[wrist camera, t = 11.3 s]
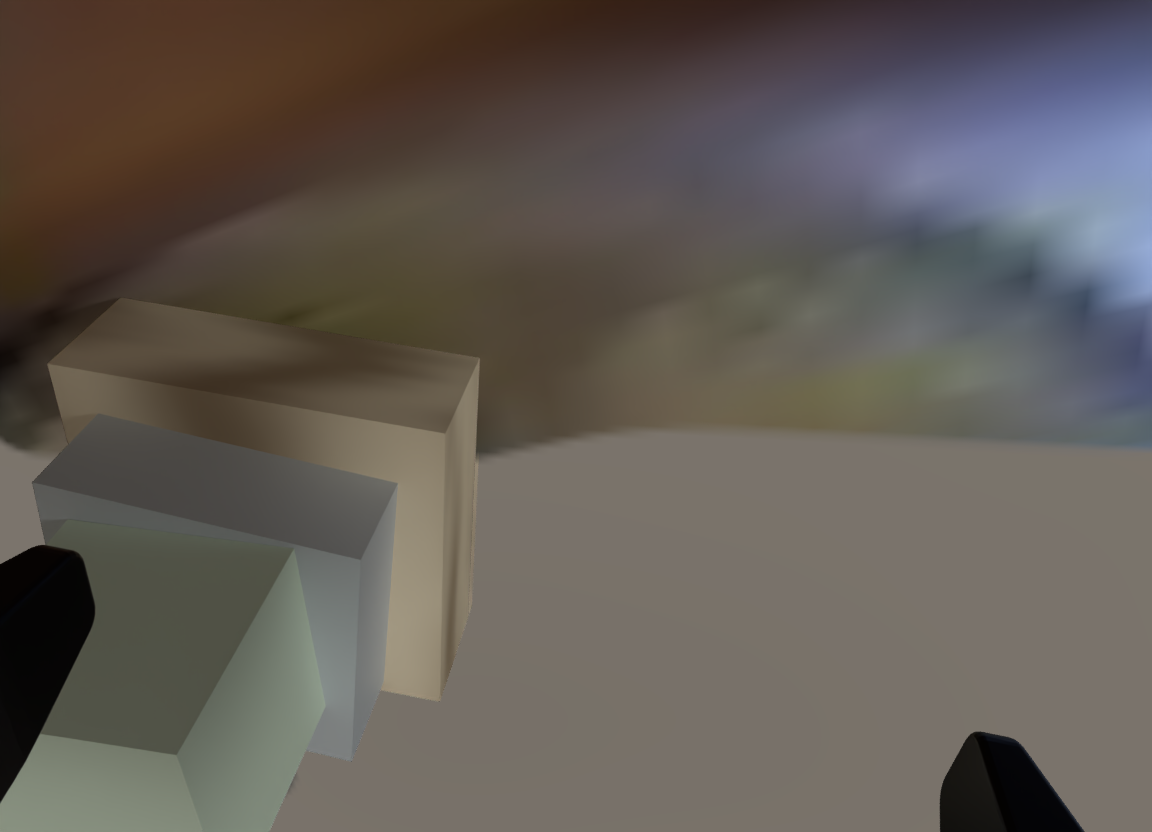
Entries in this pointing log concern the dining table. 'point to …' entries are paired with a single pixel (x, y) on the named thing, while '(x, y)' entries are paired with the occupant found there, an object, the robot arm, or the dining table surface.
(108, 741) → the sage cube
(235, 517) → the slate slab
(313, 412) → the oak base block
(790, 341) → the dining table surface
